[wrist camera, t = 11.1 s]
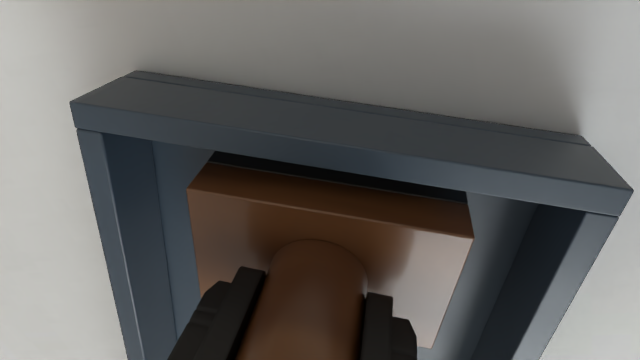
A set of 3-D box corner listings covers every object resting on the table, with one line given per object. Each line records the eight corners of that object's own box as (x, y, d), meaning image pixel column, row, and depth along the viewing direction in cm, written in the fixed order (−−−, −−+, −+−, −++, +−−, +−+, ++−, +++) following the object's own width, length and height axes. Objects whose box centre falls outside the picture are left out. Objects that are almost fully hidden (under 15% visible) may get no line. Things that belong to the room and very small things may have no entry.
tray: (134, 69, 14) (68, 101, 11) (583, 135, 13) (635, 190, 10) (183, 423, 25) (155, 484, 22) (426, 480, 24) (429, 553, 21)
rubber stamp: (217, 145, 14) (22, 398, 7) (465, 184, 13) (531, 517, 6) (226, 254, 17) (94, 511, 10) (429, 291, 16) (445, 602, 9)
